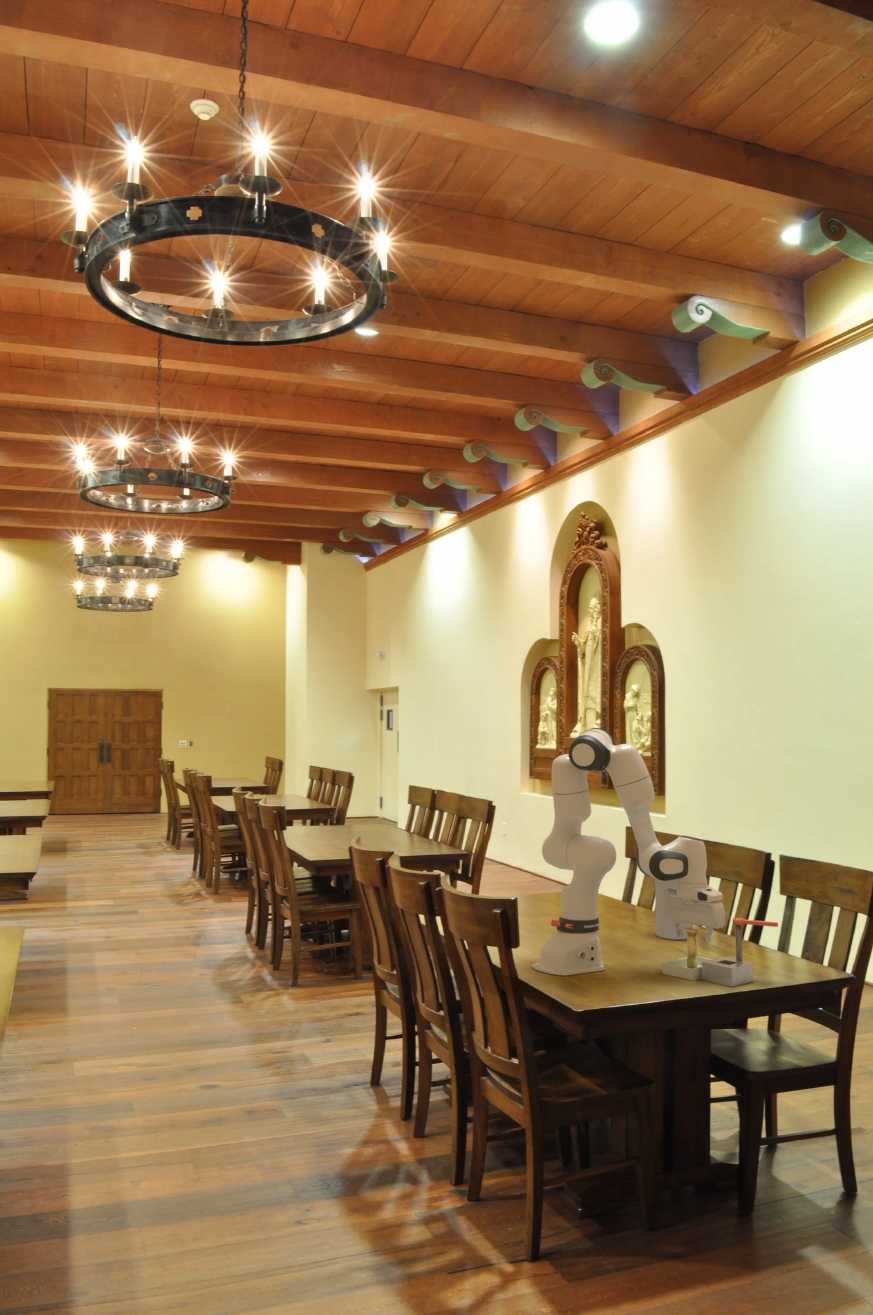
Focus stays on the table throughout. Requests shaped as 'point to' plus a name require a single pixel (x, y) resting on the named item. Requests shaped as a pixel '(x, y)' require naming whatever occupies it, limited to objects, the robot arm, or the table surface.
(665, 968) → the tray
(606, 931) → the table surface
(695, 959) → the pin
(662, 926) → the cylinder vase
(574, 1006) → the table surface
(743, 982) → the socket block
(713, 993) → the table surface
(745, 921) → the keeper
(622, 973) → the table surface
